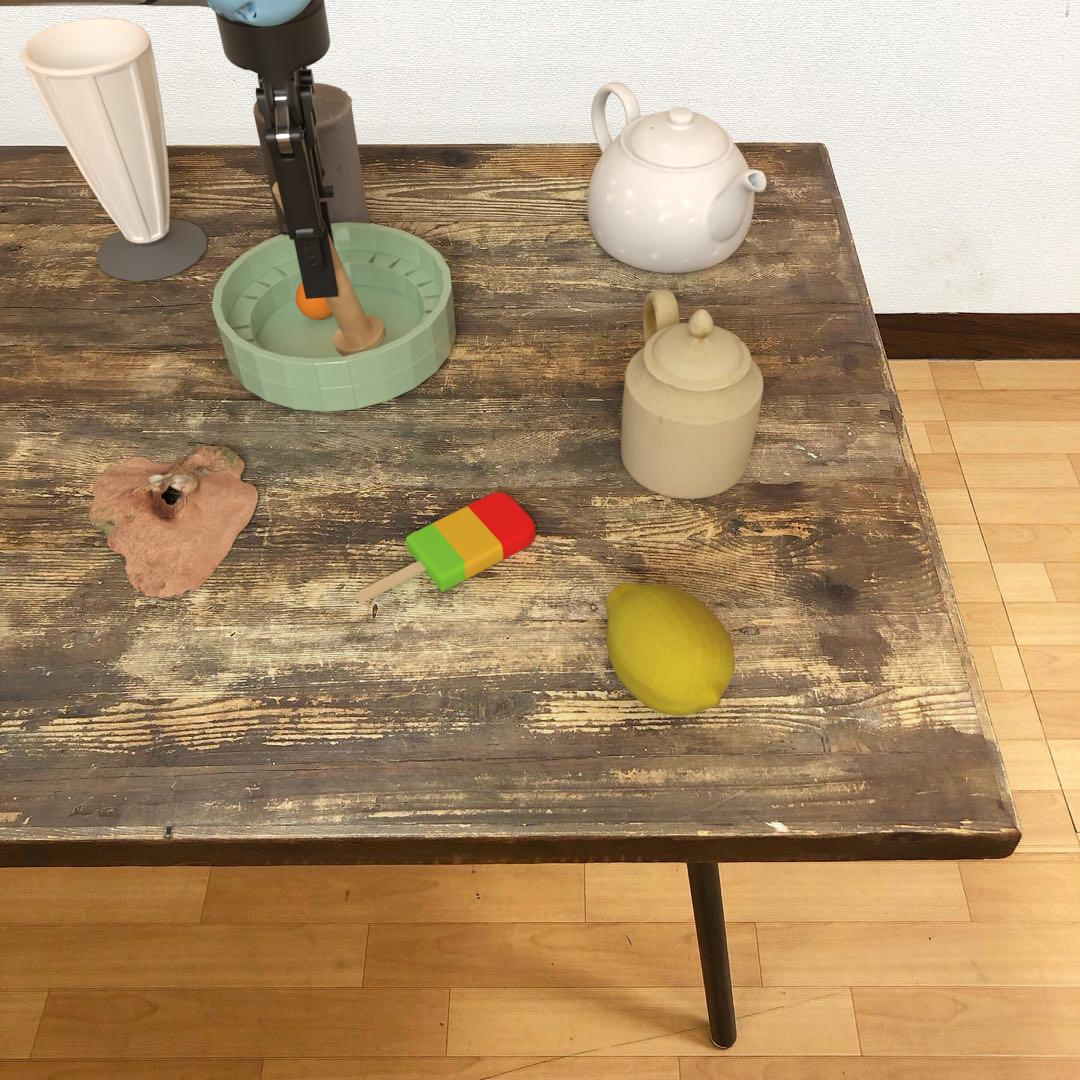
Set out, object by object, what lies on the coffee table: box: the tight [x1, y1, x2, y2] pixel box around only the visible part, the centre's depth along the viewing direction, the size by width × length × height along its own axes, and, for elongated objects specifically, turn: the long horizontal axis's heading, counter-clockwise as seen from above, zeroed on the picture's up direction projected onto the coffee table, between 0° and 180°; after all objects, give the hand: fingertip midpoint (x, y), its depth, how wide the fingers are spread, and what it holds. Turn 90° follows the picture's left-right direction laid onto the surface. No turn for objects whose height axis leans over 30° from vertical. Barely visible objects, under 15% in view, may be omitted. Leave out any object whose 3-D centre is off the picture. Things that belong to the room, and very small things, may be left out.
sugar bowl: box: [620, 288, 764, 500], centre depth 86 cm, size 15×11×15 cm
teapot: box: [586, 81, 768, 274], centre depth 108 cm, size 19×18×14 cm
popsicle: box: [354, 491, 537, 604], centre depth 83 cm, size 6×15×2 cm, turn 125°
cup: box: [19, 16, 209, 283], centre depth 105 cm, size 12×12×22 cm
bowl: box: [211, 222, 457, 413], centre depth 100 cm, size 22×22×6 cm
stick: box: [272, 182, 386, 356], centre depth 90 cm, size 5×5×16 cm
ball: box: [296, 283, 332, 320], centre depth 102 cm, size 4×4×4 cm
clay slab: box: [88, 445, 259, 599], centre depth 85 cm, size 15×13×3 cm
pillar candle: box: [253, 82, 370, 235], centre depth 110 cm, size 10×10×15 cm
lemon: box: [605, 582, 736, 717], centre depth 73 cm, size 11×8×8 cm
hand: (322, 283), depth 91 cm, fingers closed on stick, 2 cm apart
